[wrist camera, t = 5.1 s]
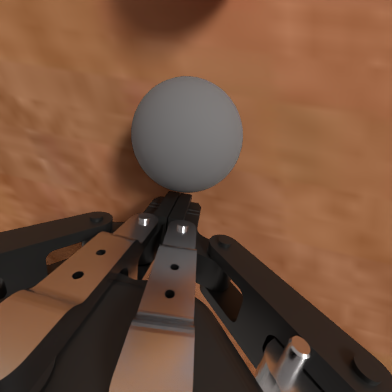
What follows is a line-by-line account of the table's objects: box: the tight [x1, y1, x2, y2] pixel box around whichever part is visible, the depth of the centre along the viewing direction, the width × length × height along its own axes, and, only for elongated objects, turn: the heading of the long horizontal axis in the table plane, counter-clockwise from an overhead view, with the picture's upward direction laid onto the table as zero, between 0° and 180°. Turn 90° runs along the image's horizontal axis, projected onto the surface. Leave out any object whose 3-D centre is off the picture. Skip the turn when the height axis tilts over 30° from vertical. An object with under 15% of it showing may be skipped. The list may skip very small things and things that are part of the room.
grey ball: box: [131, 76, 243, 193], centre depth 10 cm, size 6×6×6 cm
